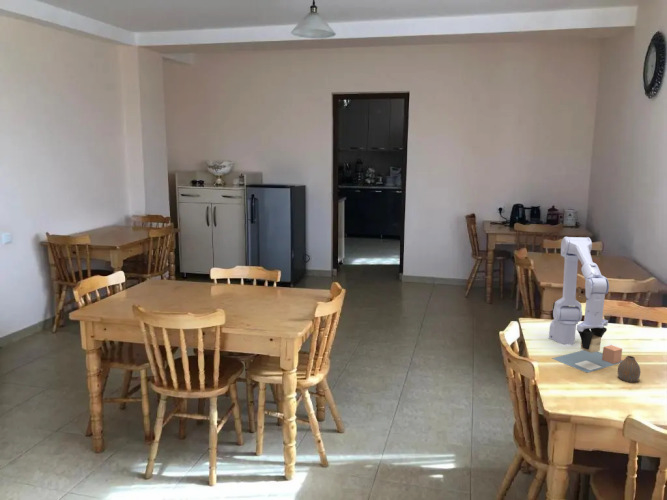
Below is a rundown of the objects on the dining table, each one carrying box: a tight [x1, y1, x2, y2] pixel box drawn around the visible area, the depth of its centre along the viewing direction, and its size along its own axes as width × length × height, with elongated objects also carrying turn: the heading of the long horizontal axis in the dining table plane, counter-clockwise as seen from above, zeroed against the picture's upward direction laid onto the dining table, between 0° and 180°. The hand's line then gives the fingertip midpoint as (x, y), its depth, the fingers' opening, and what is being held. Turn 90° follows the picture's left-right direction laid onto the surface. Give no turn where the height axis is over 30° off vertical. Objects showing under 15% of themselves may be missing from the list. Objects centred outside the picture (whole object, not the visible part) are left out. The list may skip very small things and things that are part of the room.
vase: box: [617, 355, 641, 383], centre depth 193 cm, size 7×7×9 cm
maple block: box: [580, 335, 602, 353], centre depth 203 cm, size 4×4×5 cm
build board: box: [551, 349, 624, 374], centre depth 210 cm, size 15×22×1 cm
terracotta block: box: [602, 344, 623, 364], centre depth 209 cm, size 4×4×5 cm
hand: (590, 347), depth 203 cm, fingers closed on maple block, 4 cm apart
